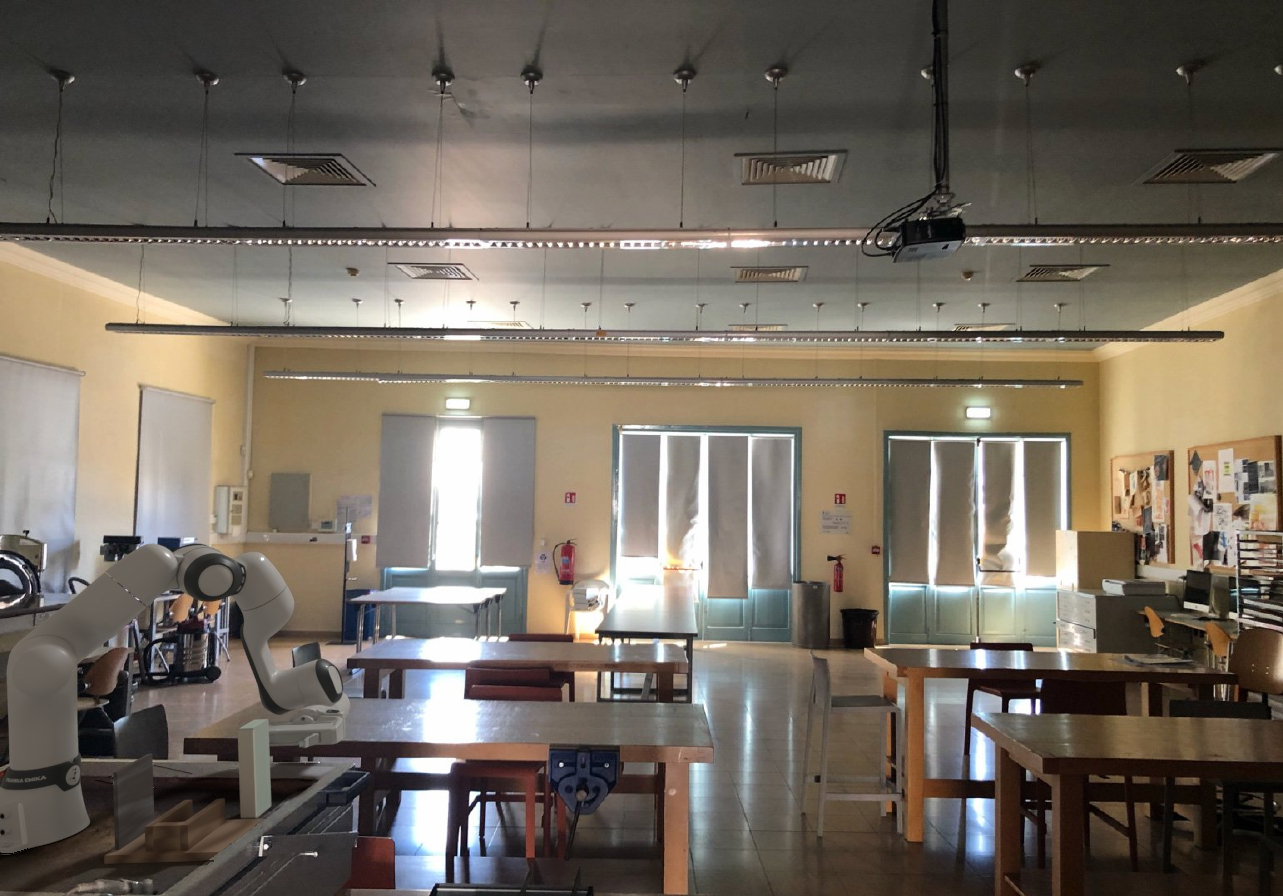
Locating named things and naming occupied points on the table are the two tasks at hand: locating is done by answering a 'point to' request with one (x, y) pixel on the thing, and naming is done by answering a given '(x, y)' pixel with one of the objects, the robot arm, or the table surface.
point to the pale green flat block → (254, 768)
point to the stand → (165, 823)
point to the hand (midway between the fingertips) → (281, 745)
